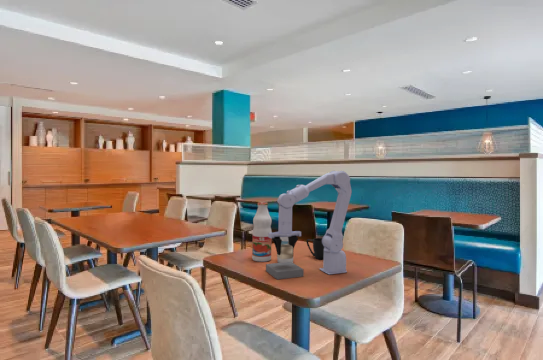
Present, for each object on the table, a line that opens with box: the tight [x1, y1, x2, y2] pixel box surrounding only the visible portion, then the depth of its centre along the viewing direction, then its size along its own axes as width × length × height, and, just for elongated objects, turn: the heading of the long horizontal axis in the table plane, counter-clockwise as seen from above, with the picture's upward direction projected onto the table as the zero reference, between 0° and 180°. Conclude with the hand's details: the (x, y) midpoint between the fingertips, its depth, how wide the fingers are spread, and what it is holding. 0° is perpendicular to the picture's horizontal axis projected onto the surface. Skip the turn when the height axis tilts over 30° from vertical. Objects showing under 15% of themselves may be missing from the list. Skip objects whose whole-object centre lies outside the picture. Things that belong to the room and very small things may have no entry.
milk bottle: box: [276, 237, 295, 263], centre depth 156 cm, size 8×8×20 cm
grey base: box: [265, 262, 305, 280], centre depth 139 cm, size 12×12×3 cm
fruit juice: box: [251, 201, 273, 263], centre depth 160 cm, size 9×9×28 cm
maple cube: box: [276, 244, 294, 259], centre depth 139 cm, size 5×5×5 cm
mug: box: [306, 237, 324, 261], centre depth 166 cm, size 8×12×10 cm
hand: (284, 253), depth 139 cm, fingers closed on maple cube, 5 cm apart
